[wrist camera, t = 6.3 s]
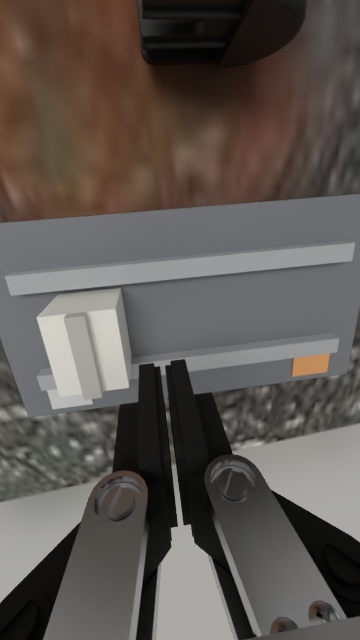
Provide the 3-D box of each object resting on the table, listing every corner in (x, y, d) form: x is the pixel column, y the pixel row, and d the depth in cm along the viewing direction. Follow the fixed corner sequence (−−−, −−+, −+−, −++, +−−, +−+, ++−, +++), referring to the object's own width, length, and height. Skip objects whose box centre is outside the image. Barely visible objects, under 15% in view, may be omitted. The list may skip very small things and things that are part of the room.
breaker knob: (58, 294, 18) (32, 321, 14) (121, 287, 18) (114, 312, 14) (74, 361, 20) (56, 403, 16) (131, 354, 20) (128, 394, 16)
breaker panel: (-26, 224, 18) (-51, 227, 15) (364, 193, 20) (393, 191, 17) (35, 404, 23) (23, 426, 21) (335, 364, 25) (355, 380, 23)
